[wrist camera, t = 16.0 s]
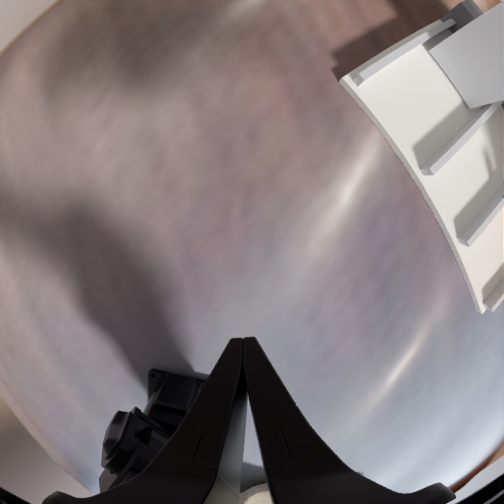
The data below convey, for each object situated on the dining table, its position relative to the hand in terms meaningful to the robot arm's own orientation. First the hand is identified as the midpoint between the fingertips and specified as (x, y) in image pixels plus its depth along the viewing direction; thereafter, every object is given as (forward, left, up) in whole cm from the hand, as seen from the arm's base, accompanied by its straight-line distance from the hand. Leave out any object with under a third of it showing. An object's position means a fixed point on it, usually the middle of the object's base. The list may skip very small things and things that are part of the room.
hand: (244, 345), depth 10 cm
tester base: (+13, -19, -12) cm, 26 cm away
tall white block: (+20, -15, -10) cm, 27 cm away
